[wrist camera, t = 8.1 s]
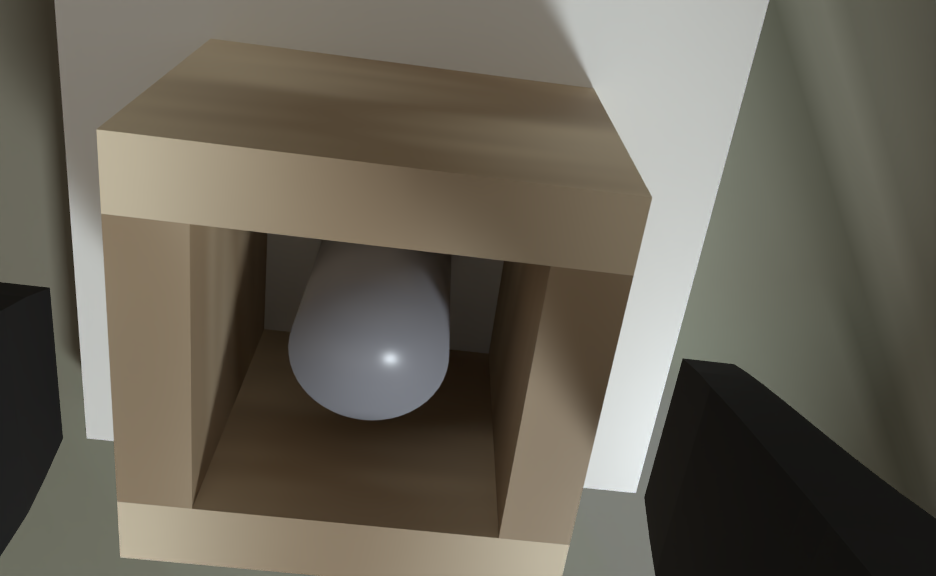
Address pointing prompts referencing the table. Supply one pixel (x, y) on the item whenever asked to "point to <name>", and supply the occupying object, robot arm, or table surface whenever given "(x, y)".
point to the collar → (371, 223)
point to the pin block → (418, 272)
